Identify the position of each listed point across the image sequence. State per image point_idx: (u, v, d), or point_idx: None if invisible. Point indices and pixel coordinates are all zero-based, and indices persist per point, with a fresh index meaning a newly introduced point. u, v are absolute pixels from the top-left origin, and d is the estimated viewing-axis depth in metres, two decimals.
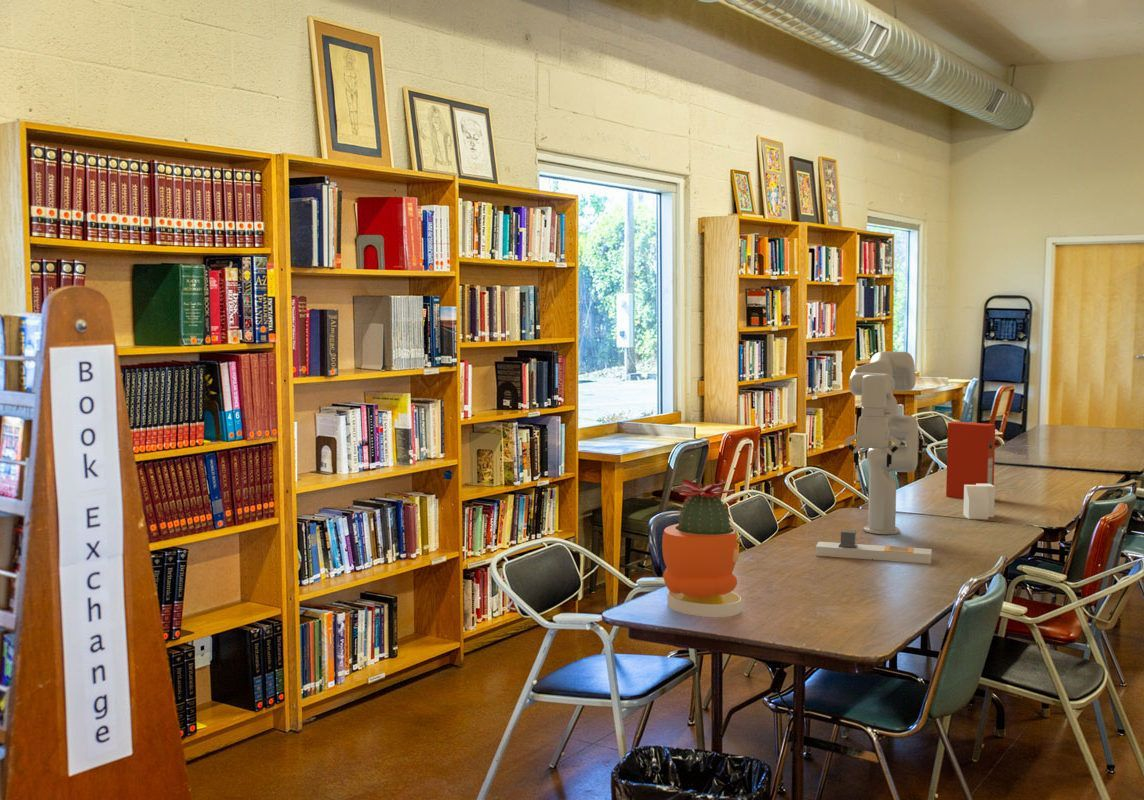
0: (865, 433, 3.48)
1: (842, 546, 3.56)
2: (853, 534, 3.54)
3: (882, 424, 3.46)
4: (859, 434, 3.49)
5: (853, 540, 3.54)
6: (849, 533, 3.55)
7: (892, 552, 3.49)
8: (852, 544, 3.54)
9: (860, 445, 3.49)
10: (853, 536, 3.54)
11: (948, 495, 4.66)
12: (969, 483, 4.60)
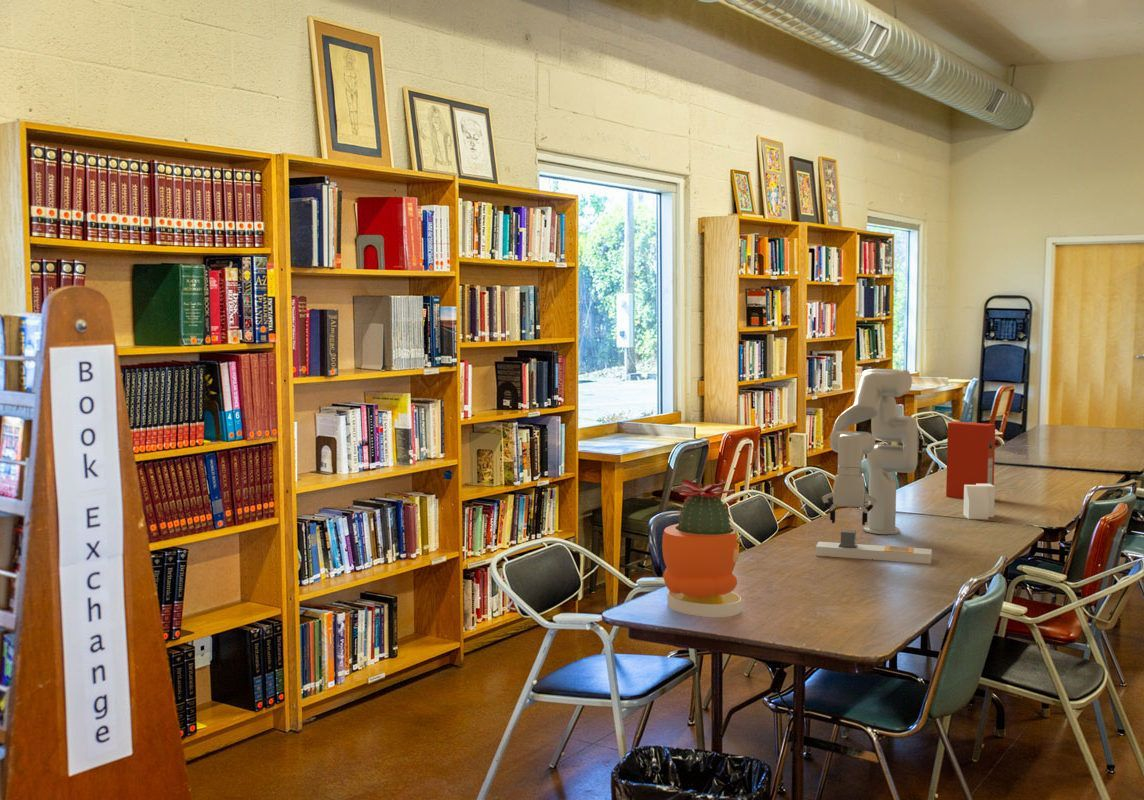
0: (841, 492, 3.54)
1: (842, 546, 3.56)
2: (853, 534, 3.54)
3: (858, 483, 3.52)
4: (835, 492, 3.55)
5: (853, 540, 3.54)
6: (849, 533, 3.55)
7: (892, 552, 3.49)
8: (852, 544, 3.54)
9: (836, 503, 3.55)
10: (853, 536, 3.54)
11: (948, 495, 4.66)
12: (969, 483, 4.60)
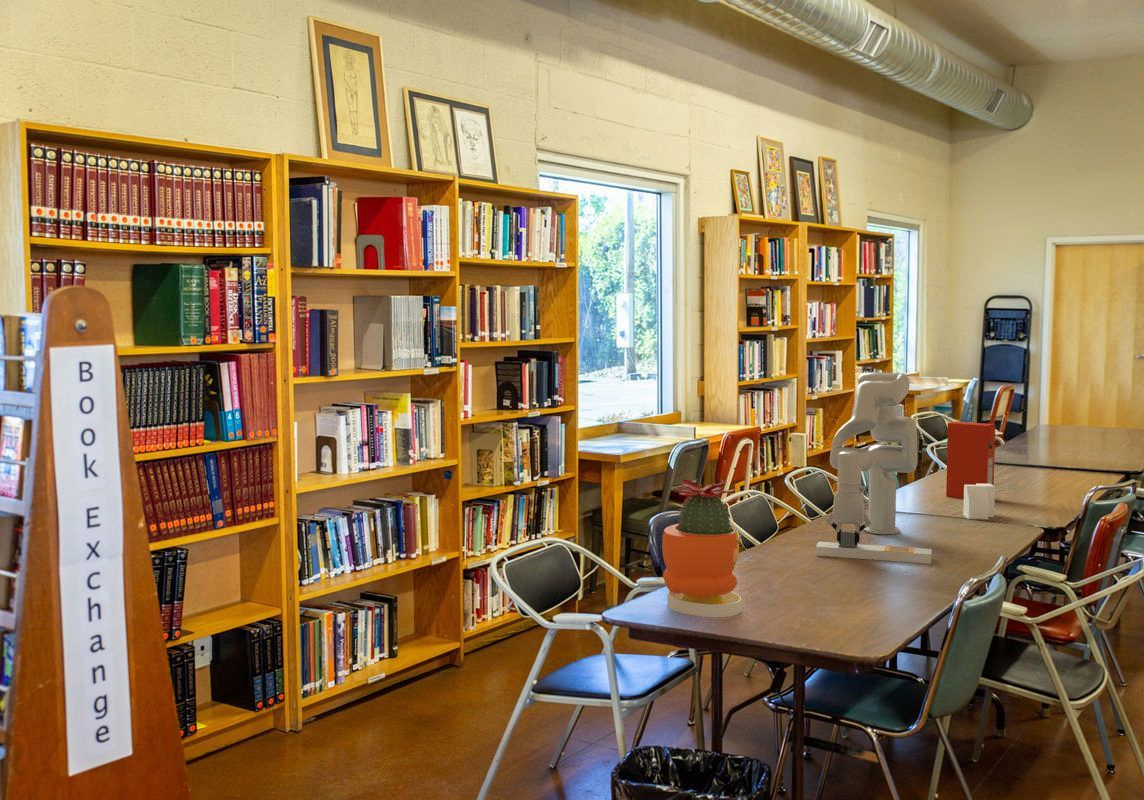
0: (841, 509, 3.55)
1: (842, 546, 3.56)
2: (853, 534, 3.54)
3: (858, 501, 3.53)
4: (835, 510, 3.55)
5: (853, 540, 3.54)
6: (849, 533, 3.55)
7: (892, 552, 3.49)
8: (852, 544, 3.54)
9: (836, 520, 3.56)
10: (853, 536, 3.54)
11: (948, 495, 4.66)
12: (969, 483, 4.60)
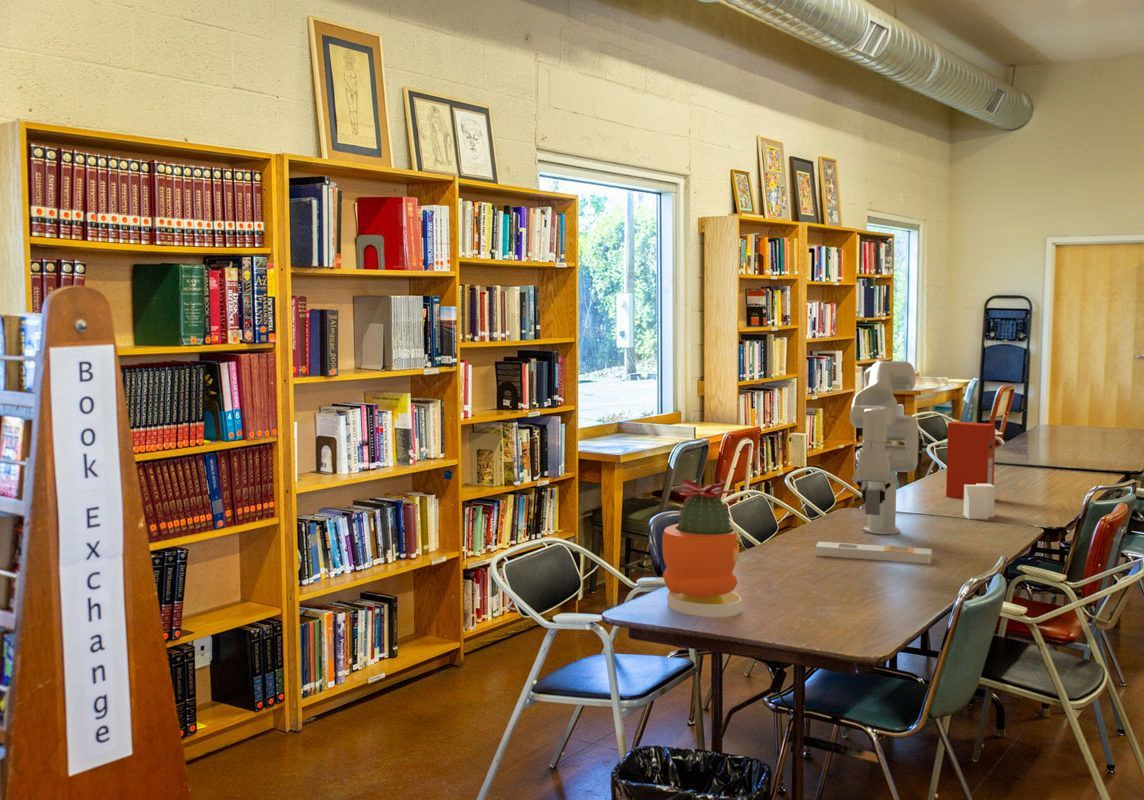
0: (866, 466, 3.51)
1: (867, 504, 3.52)
2: (878, 492, 3.50)
3: (883, 458, 3.49)
4: (860, 467, 3.52)
5: (878, 498, 3.51)
6: (874, 491, 3.51)
7: (892, 552, 3.49)
8: (877, 502, 3.51)
9: (861, 478, 3.52)
10: (878, 494, 3.50)
11: (948, 495, 4.66)
12: (969, 483, 4.60)
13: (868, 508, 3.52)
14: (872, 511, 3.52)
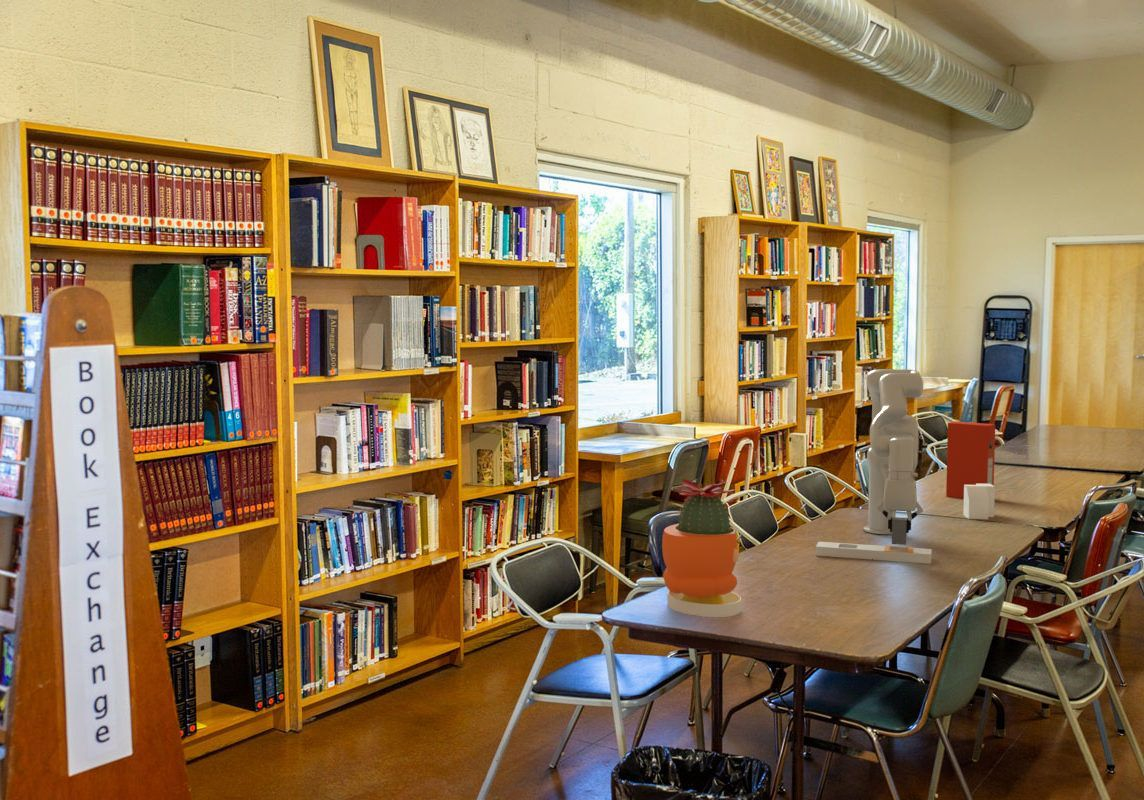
0: (892, 496, 3.49)
1: (893, 534, 3.50)
2: (905, 521, 3.48)
3: (910, 487, 3.47)
4: (886, 497, 3.50)
5: (905, 528, 3.48)
6: (901, 520, 3.49)
7: (892, 552, 3.49)
8: (904, 531, 3.49)
9: (887, 508, 3.50)
10: (905, 523, 3.48)
11: (948, 495, 4.66)
12: (969, 483, 4.60)
13: (895, 538, 3.50)
14: (899, 541, 3.49)
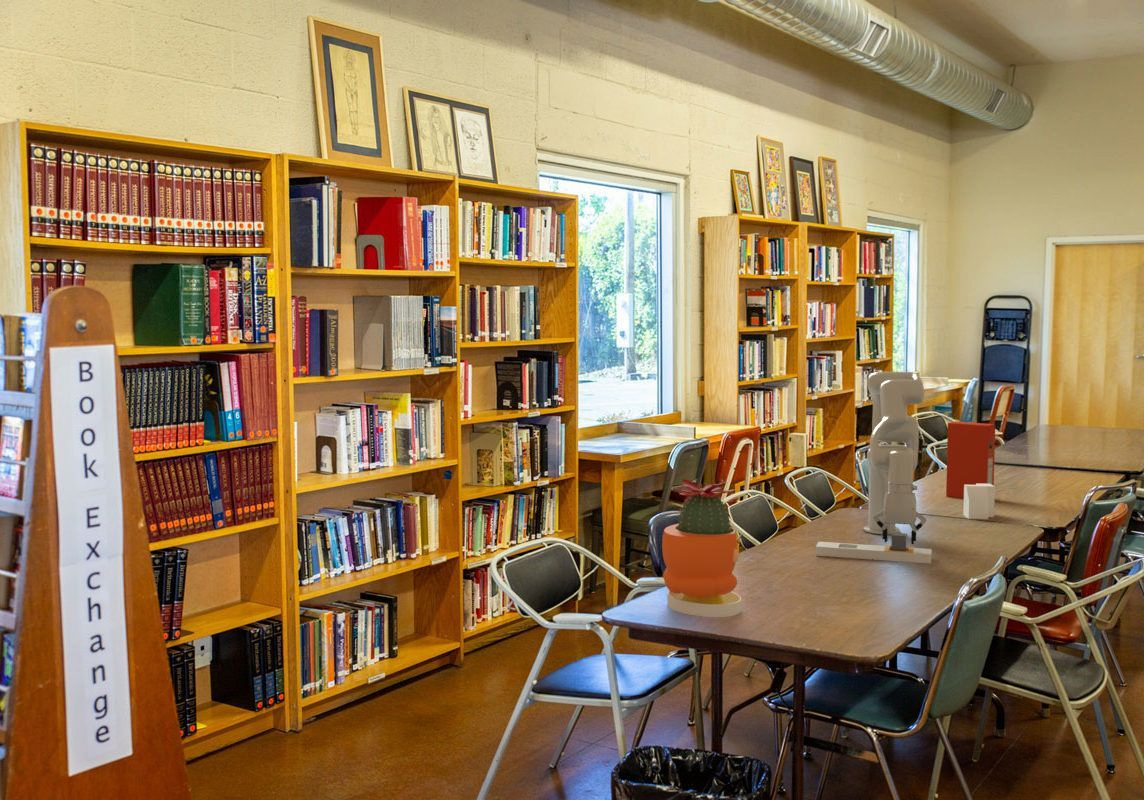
0: (892, 509, 3.49)
1: (893, 549, 3.50)
2: (904, 537, 3.49)
3: (909, 500, 3.47)
4: (886, 510, 3.50)
5: (904, 543, 3.49)
6: (900, 536, 3.49)
7: (892, 552, 3.49)
8: (903, 547, 3.49)
9: (887, 521, 3.50)
10: (904, 539, 3.49)
11: (948, 495, 4.66)
12: (969, 483, 4.60)
13: None
14: None
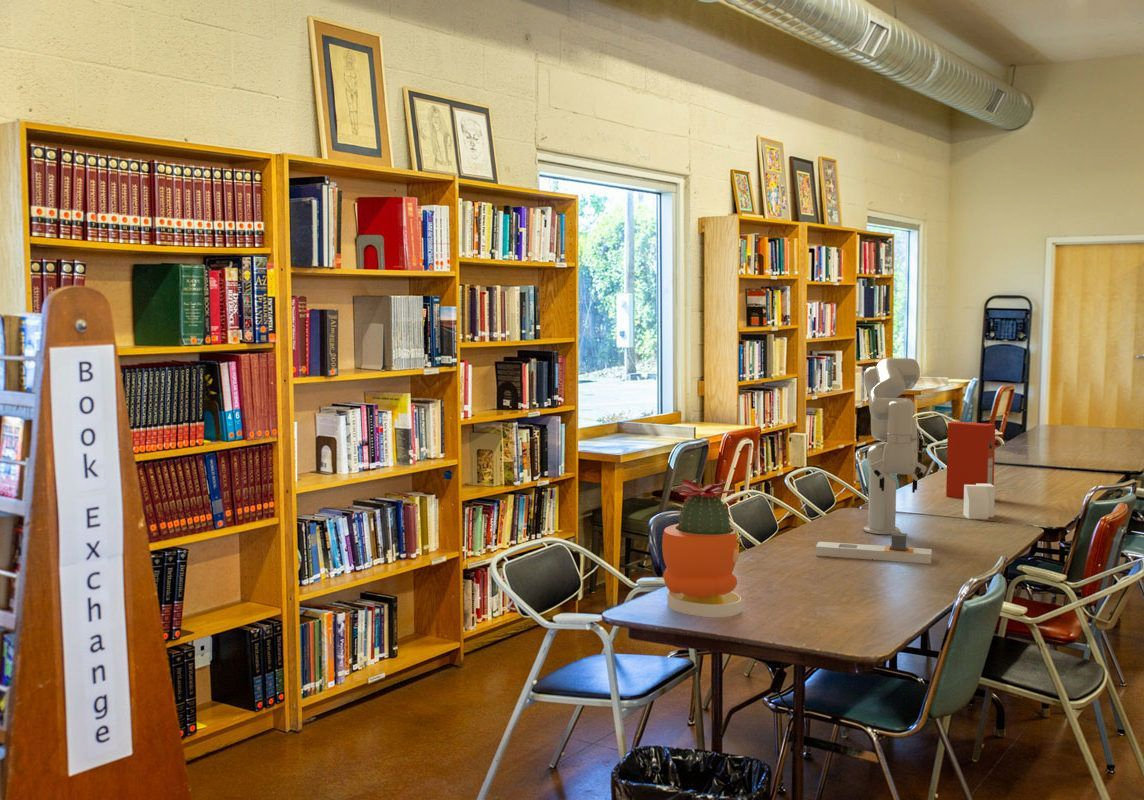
0: (891, 459, 3.51)
1: (893, 549, 3.50)
2: (904, 537, 3.49)
3: (908, 451, 3.49)
4: (885, 460, 3.52)
5: (904, 543, 3.49)
6: (900, 536, 3.49)
7: (892, 552, 3.49)
8: (903, 547, 3.49)
9: (886, 471, 3.52)
10: (904, 539, 3.49)
11: (948, 495, 4.66)
12: (969, 483, 4.60)
13: None
14: None
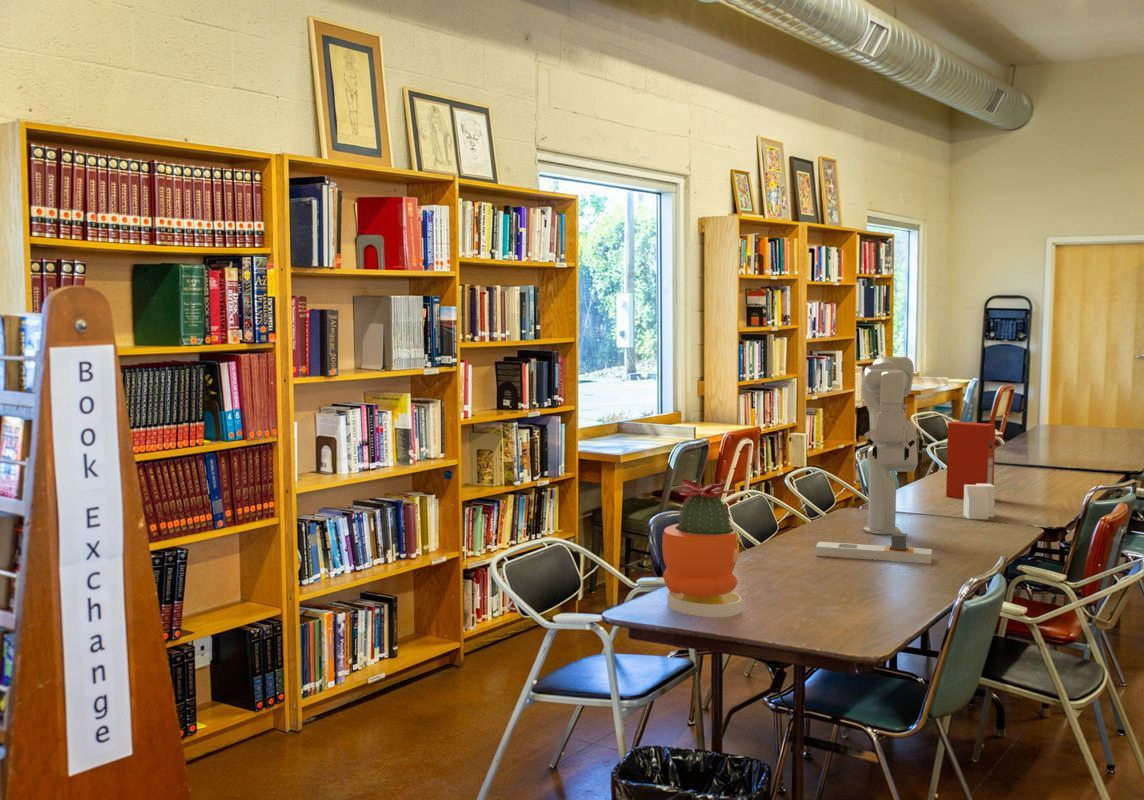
0: (883, 428, 3.63)
1: (893, 549, 3.50)
2: (904, 537, 3.49)
3: (900, 419, 3.61)
4: (878, 429, 3.63)
5: (904, 543, 3.49)
6: (900, 536, 3.49)
7: (892, 552, 3.49)
8: (903, 547, 3.49)
9: (879, 439, 3.64)
10: (904, 539, 3.49)
11: (948, 495, 4.66)
12: (969, 483, 4.60)
13: None
14: None
